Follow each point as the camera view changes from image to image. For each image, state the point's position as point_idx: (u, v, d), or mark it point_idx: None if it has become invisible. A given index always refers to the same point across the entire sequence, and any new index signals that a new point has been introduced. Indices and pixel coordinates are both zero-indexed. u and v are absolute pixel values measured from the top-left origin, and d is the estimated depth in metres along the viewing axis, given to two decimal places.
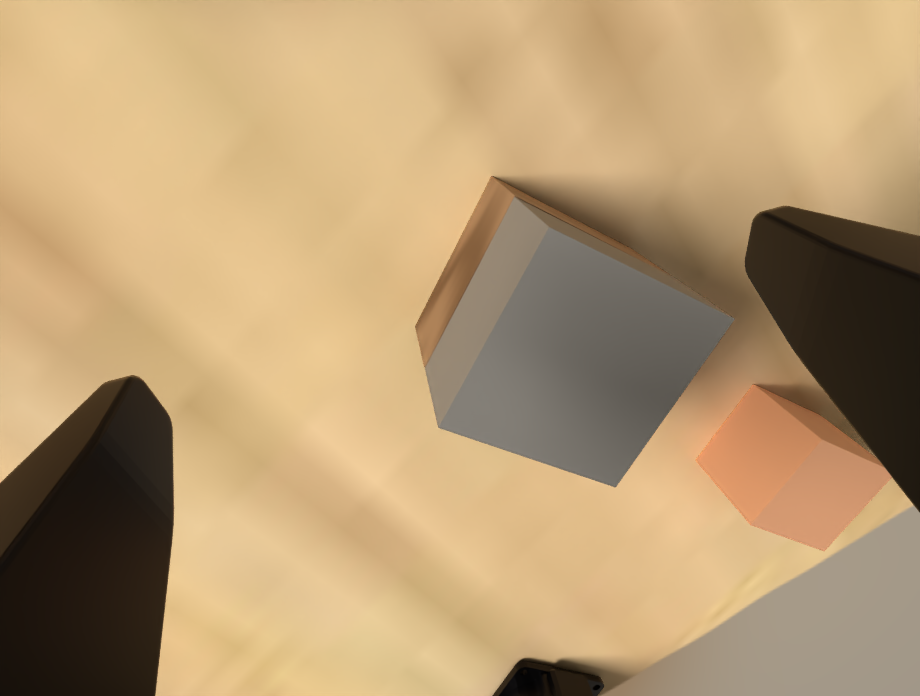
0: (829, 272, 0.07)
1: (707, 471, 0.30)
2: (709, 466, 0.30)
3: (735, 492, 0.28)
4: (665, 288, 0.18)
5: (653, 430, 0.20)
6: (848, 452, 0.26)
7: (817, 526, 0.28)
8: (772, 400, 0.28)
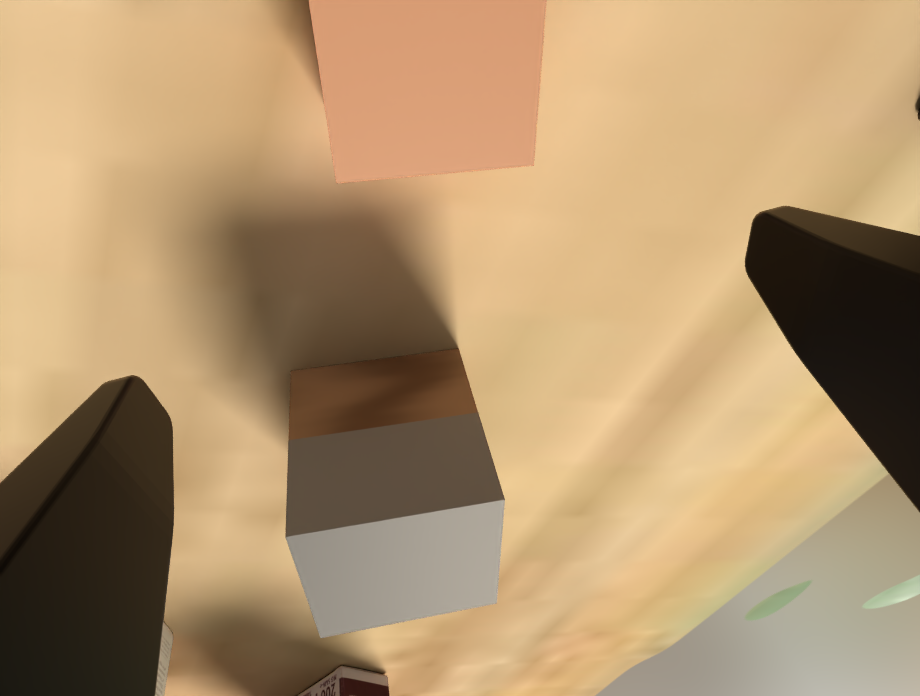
0: (829, 272, 0.07)
1: None
2: None
3: None
4: (304, 581, 0.20)
5: (428, 513, 0.19)
6: (326, 108, 0.13)
7: (496, 15, 0.13)
8: None
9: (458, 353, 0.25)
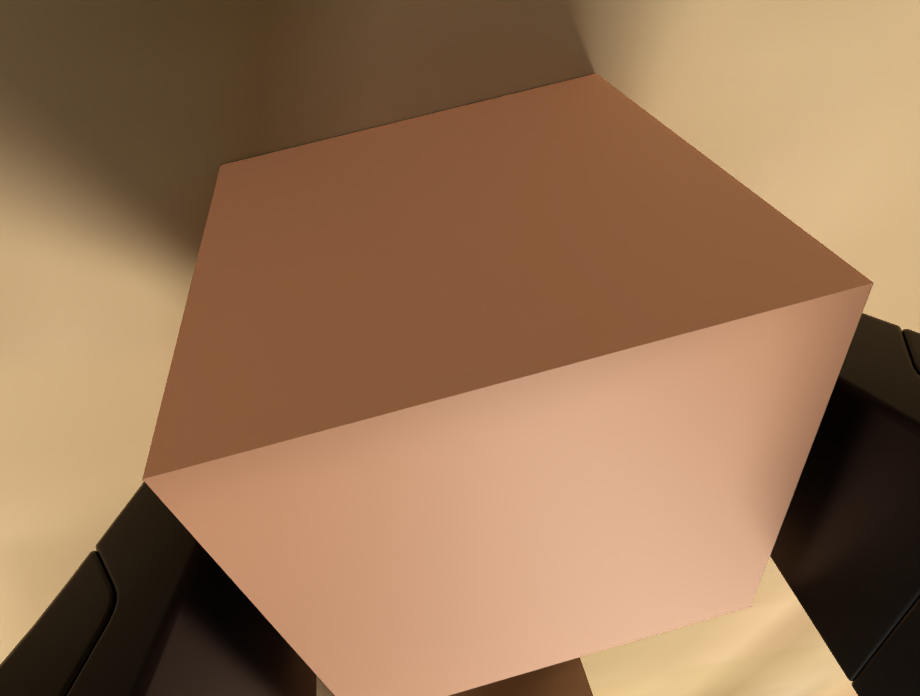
0: None
1: None
2: None
3: None
4: None
5: None
6: (313, 664, 0.06)
7: (695, 463, 0.05)
8: None
9: None
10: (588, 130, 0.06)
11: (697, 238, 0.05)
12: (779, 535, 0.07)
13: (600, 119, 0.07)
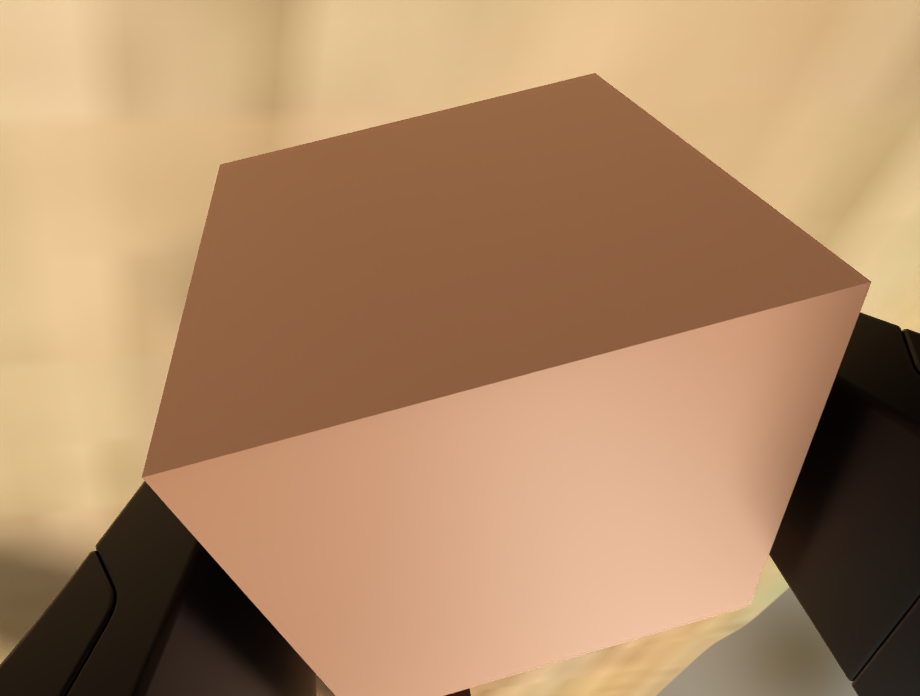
0: None
1: None
2: None
3: None
4: None
5: None
6: (313, 662, 0.06)
7: (693, 462, 0.05)
8: None
9: None
10: (587, 130, 0.07)
11: (695, 237, 0.05)
12: (779, 535, 0.07)
13: (599, 119, 0.07)
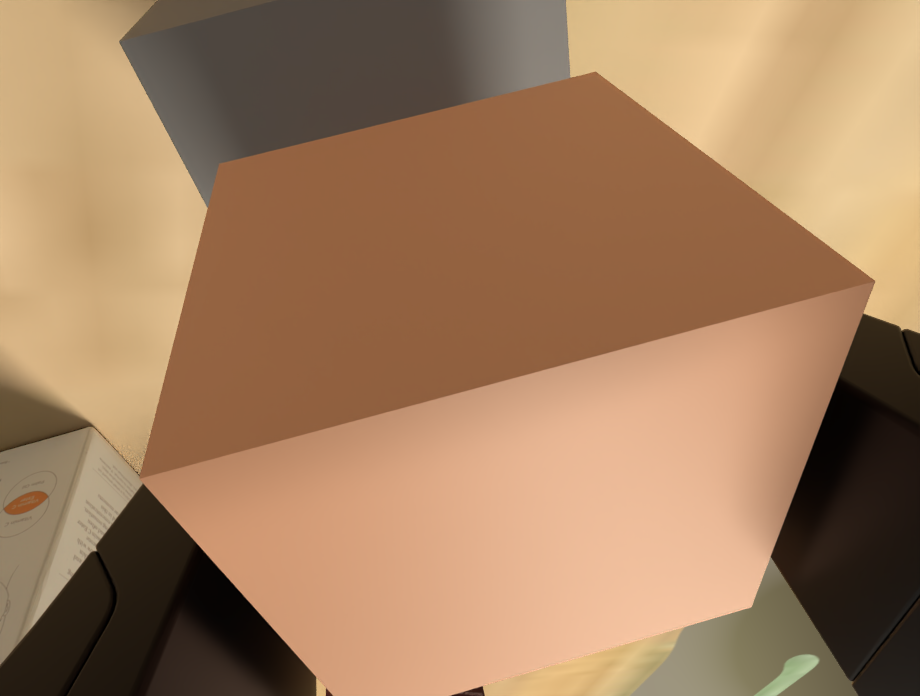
0: None
1: None
2: None
3: None
4: None
5: None
6: (312, 664, 0.06)
7: (695, 462, 0.05)
8: None
9: None
10: (588, 128, 0.06)
11: (698, 236, 0.05)
12: (779, 535, 0.07)
13: (600, 116, 0.07)
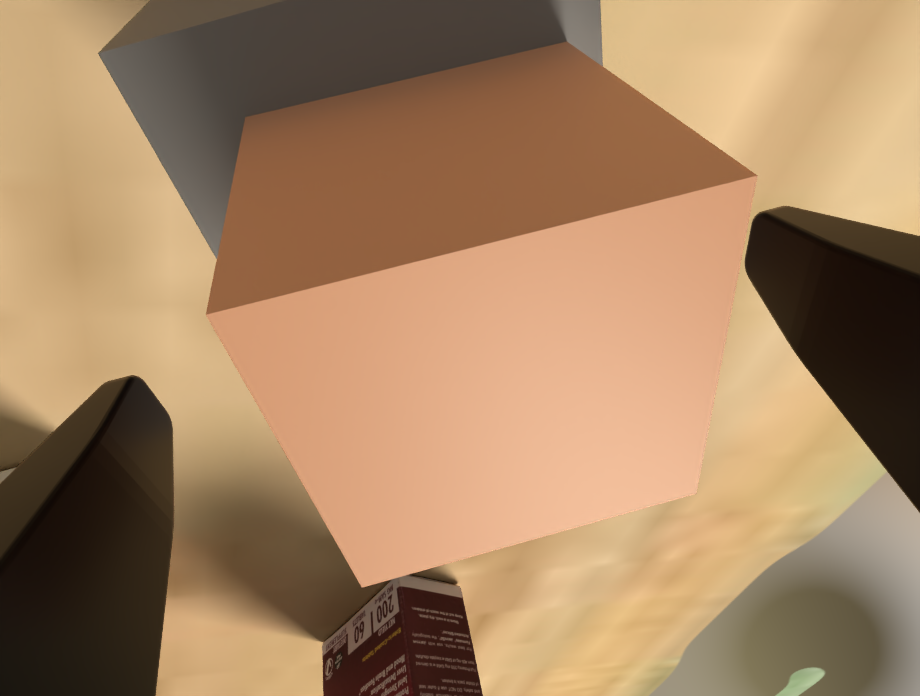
0: (829, 272, 0.07)
1: None
2: None
3: None
4: (205, 227, 0.10)
5: None
6: (326, 517, 0.07)
7: (633, 336, 0.06)
8: None
9: None
10: (556, 83, 0.08)
11: (632, 153, 0.06)
12: None
13: (566, 75, 0.08)
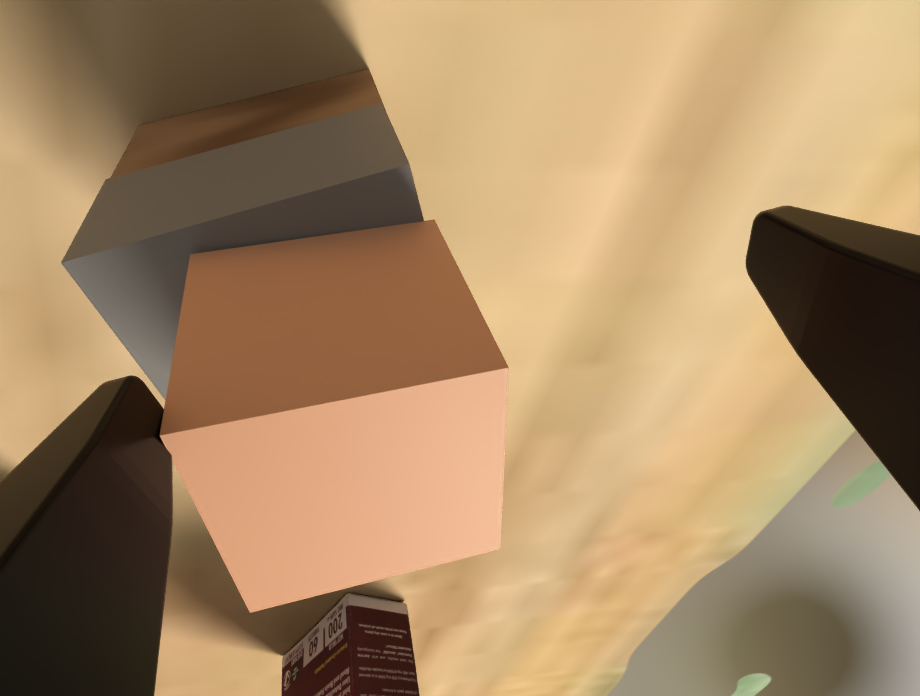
0: (830, 272, 0.07)
1: None
2: None
3: None
4: (143, 363, 0.13)
5: (288, 201, 0.12)
6: (227, 561, 0.10)
7: (441, 450, 0.10)
8: None
9: (368, 73, 0.18)
10: (416, 262, 0.11)
11: (446, 337, 0.10)
12: None
13: (425, 255, 0.12)
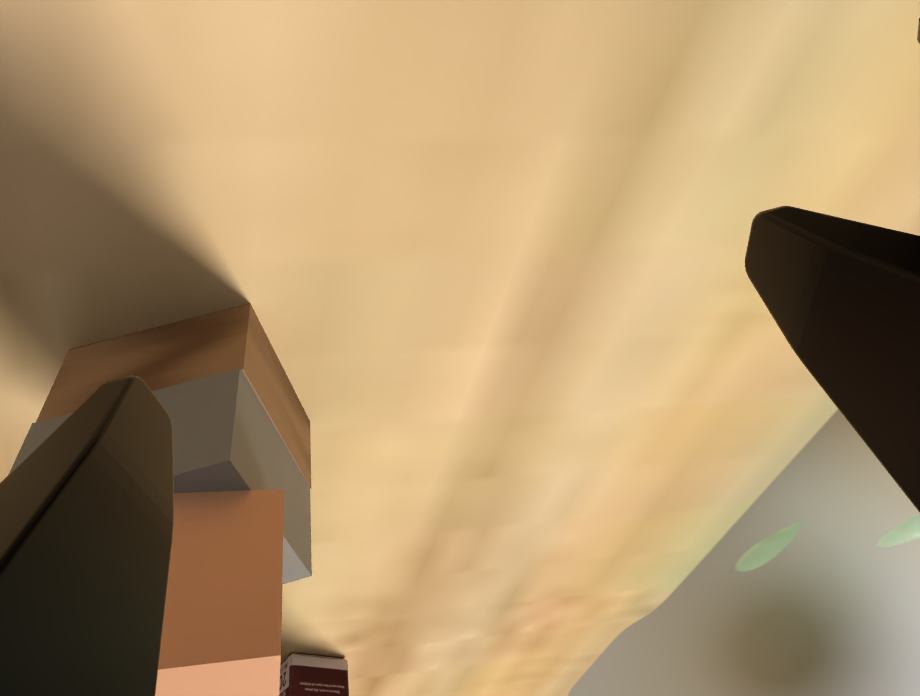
0: (829, 272, 0.07)
1: None
2: None
3: None
4: None
5: None
6: None
7: (234, 688, 0.15)
8: None
9: (248, 309, 0.22)
10: (256, 536, 0.17)
11: (251, 619, 0.15)
12: None
13: (265, 529, 0.17)
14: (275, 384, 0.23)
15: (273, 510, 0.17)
